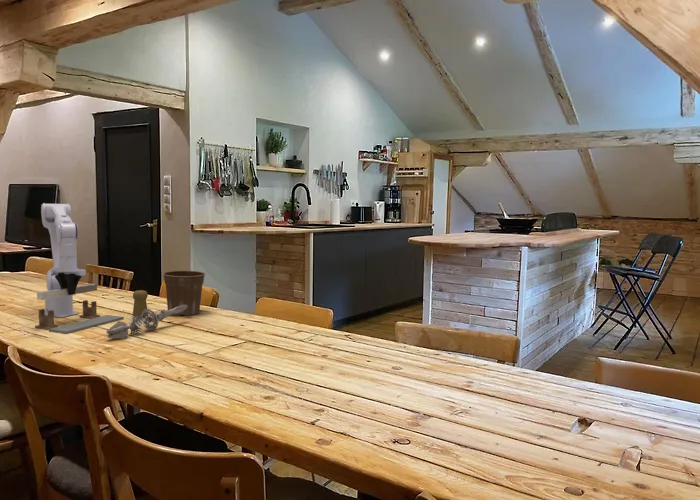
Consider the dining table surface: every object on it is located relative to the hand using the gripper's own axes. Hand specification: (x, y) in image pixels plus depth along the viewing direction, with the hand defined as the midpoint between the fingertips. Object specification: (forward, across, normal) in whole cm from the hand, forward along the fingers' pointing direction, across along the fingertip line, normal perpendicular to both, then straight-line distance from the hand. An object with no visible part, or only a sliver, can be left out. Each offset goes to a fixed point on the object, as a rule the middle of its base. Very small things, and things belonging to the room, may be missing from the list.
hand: (68, 294), depth 202 cm
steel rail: (0, 0, 0) cm, 0 cm away
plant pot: (+11, +26, +32) cm, 43 cm away
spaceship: (+11, +33, +3) cm, 35 cm away
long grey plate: (+10, +9, 0) cm, 13 cm away
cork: (+11, +19, +15) cm, 26 cm away
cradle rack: (+10, 0, 0) cm, 10 cm away
